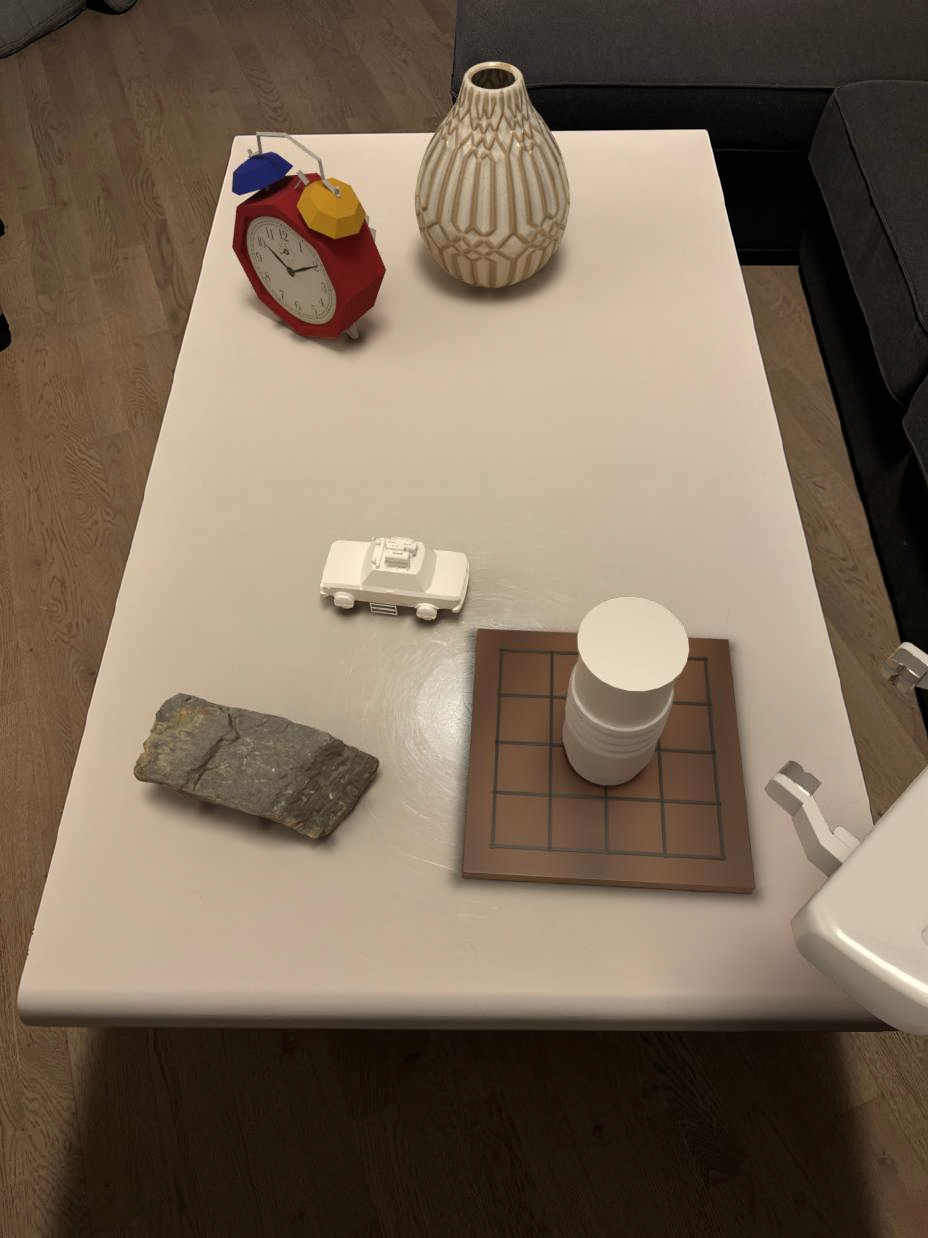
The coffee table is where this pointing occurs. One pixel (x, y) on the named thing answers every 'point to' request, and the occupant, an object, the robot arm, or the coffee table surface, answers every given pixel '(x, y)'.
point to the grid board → (592, 813)
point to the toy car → (395, 575)
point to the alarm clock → (305, 244)
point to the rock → (254, 764)
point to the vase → (492, 183)
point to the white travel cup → (622, 687)
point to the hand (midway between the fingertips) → (835, 713)
